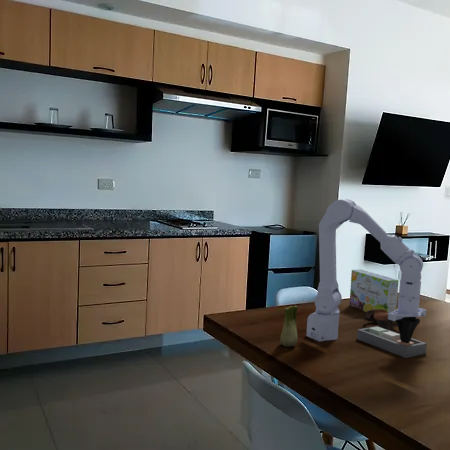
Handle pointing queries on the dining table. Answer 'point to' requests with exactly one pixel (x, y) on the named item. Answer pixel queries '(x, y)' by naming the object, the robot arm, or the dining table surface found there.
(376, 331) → the key
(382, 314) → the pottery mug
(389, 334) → the key mid
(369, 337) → the grey rectangular tray
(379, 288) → the snack box
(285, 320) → the fennel bulb
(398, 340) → the key
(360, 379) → the dining table surface
